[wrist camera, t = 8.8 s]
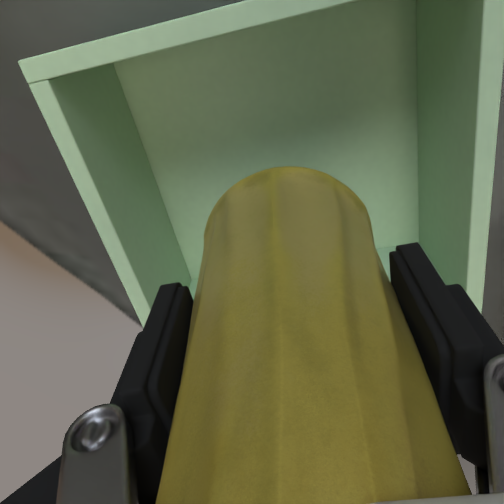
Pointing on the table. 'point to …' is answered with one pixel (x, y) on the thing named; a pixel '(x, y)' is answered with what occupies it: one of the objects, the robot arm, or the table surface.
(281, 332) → the vase
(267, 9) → the tote
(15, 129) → the table surface
